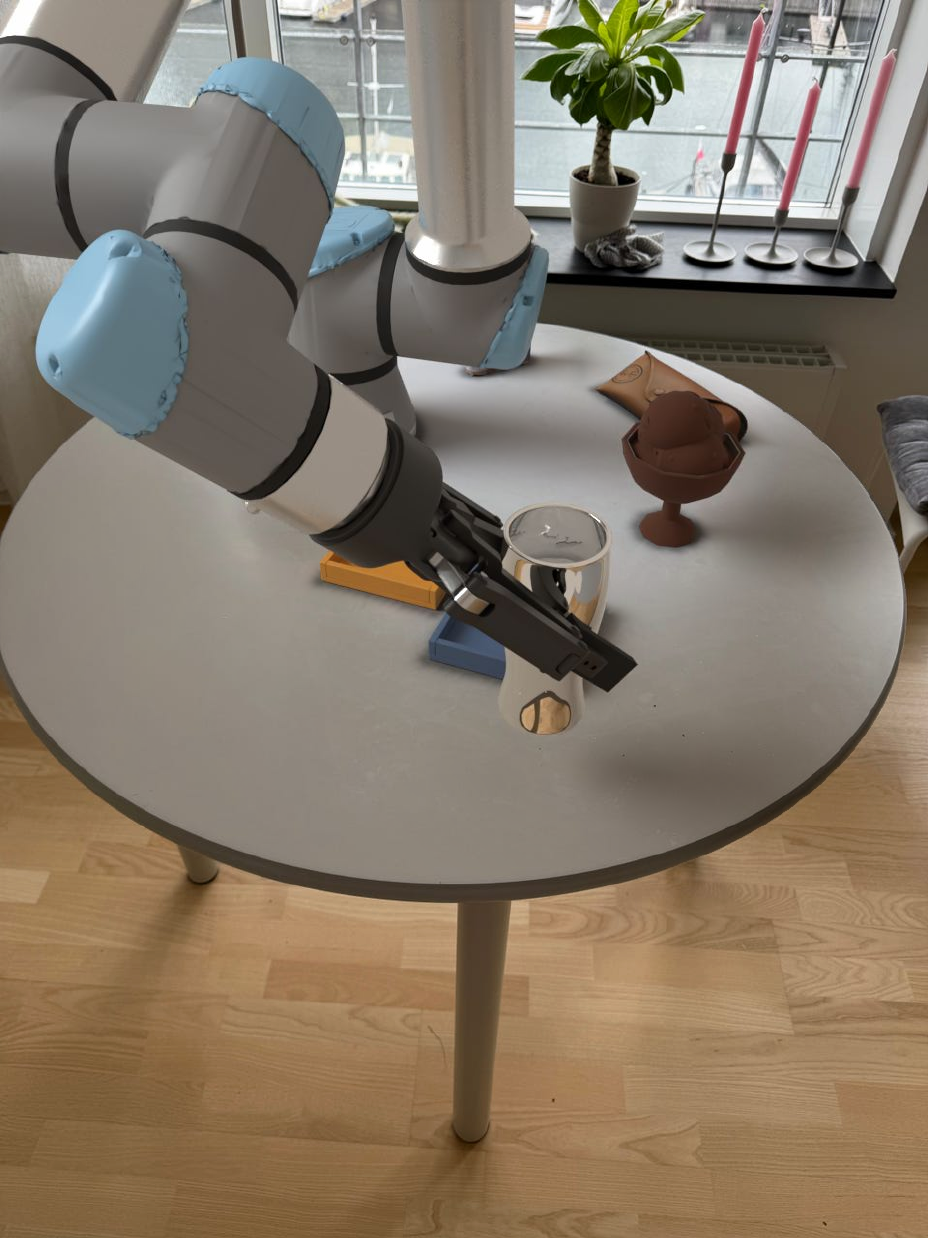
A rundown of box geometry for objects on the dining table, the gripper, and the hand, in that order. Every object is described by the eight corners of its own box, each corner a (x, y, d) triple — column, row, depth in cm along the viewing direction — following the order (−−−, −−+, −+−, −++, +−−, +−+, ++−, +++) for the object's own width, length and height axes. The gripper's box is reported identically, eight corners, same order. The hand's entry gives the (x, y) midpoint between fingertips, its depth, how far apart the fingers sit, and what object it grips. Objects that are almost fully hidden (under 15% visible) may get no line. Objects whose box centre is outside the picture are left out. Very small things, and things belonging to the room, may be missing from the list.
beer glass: (486, 673, 70) (493, 501, 60) (580, 669, 71) (603, 497, 61) (496, 746, 65) (506, 571, 55) (598, 740, 65) (626, 566, 56)
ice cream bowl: (725, 570, 89) (760, 427, 80) (605, 554, 91) (624, 412, 81) (725, 507, 97) (757, 369, 87) (614, 493, 99) (633, 356, 89)
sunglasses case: (589, 386, 115) (617, 335, 113) (625, 402, 120) (653, 352, 117) (689, 456, 104) (723, 400, 101) (724, 470, 108) (758, 417, 106)
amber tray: (321, 580, 87) (319, 562, 86) (373, 514, 95) (372, 497, 94) (435, 610, 84) (435, 591, 83) (479, 540, 92) (480, 522, 91)
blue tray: (428, 659, 80) (428, 640, 78) (475, 580, 88) (476, 562, 86) (558, 695, 77) (560, 676, 75) (595, 610, 85) (597, 592, 83)
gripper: (261, 434, 58) (501, 587, 73) (347, 647, 44) (621, 782, 59) (341, 339, 56) (570, 516, 71) (457, 531, 42) (713, 701, 57)
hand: (593, 636), depth 65 cm, fingers closed on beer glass, 7 cm apart
